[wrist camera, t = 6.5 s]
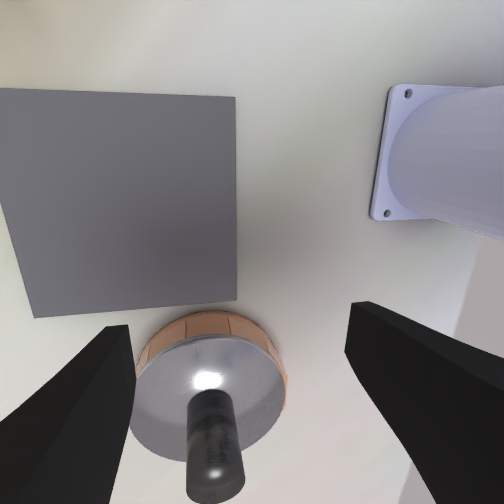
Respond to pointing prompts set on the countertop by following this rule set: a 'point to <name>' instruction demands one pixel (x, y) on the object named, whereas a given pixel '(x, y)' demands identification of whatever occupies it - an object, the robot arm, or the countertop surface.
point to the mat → (119, 198)
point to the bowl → (207, 325)
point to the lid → (207, 408)
